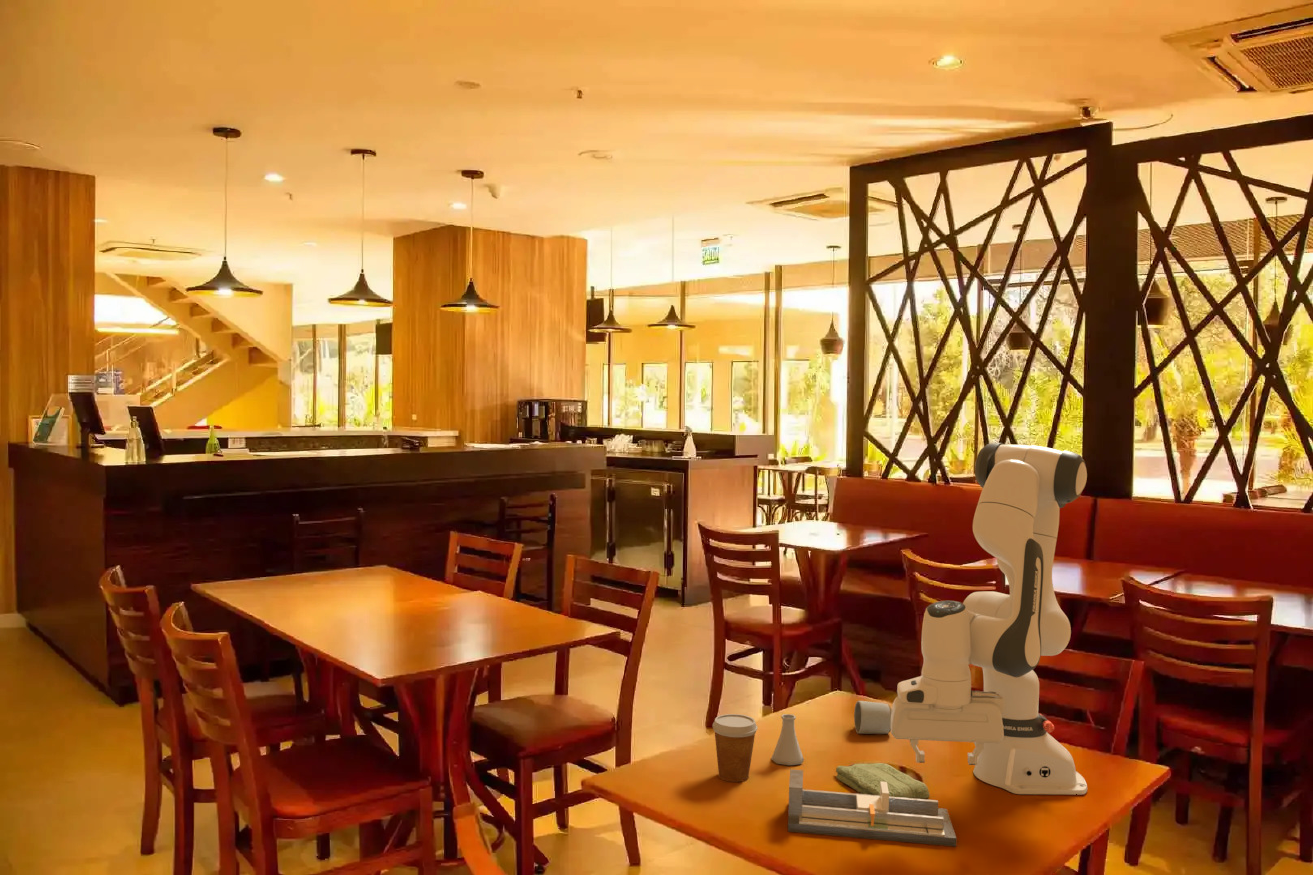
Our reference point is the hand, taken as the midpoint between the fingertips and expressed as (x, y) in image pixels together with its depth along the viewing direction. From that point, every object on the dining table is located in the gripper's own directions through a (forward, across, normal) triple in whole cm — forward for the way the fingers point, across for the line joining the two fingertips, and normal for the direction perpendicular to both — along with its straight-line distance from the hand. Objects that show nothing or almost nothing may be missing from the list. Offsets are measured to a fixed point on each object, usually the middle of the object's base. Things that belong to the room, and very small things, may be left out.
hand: (946, 762), depth 179 cm
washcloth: (+13, +11, -18) cm, 25 cm away
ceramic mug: (+14, +11, -53) cm, 56 cm away
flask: (+12, +30, -29) cm, 44 cm away
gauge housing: (+12, +14, +1) cm, 19 cm away
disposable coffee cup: (+12, +41, -17) cm, 46 cm away
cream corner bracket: (+10, +14, +3) cm, 17 cm away
